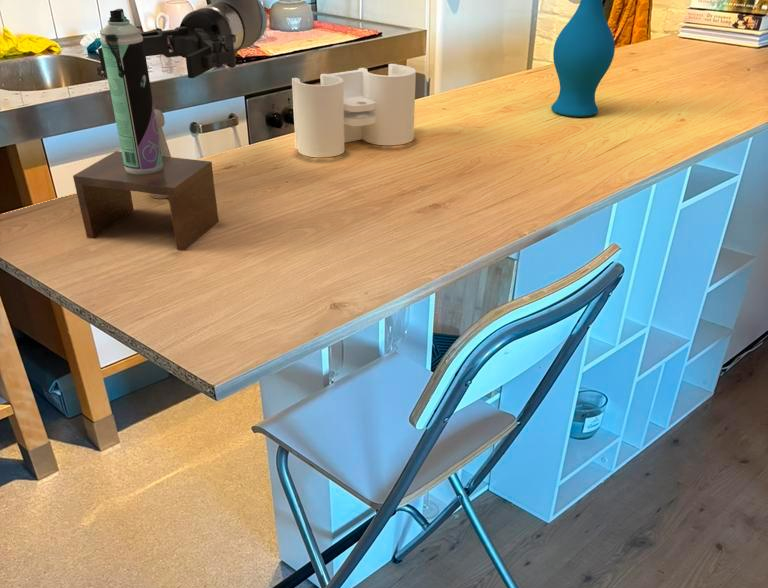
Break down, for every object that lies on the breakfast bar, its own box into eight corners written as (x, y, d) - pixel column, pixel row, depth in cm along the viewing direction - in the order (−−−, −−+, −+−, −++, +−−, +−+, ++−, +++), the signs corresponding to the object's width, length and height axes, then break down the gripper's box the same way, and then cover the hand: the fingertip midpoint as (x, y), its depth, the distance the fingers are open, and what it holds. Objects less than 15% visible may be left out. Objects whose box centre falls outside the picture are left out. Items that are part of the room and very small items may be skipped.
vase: (551, 102, 184) (571, -47, 165) (607, 108, 181) (634, -43, 162) (540, 116, 175) (560, -40, 157) (599, 122, 172) (626, -36, 154)
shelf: (86, 237, 122) (72, 175, 116) (127, 209, 130) (116, 150, 125) (184, 250, 118) (174, 187, 112) (218, 221, 127) (211, 161, 121)
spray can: (162, 173, 117) (136, 12, 104) (123, 175, 116) (92, 13, 103) (164, 161, 121) (139, 5, 108) (126, 162, 120) (97, 5, 107)
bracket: (314, 161, 150) (312, 89, 142) (289, 147, 156) (285, 77, 148) (423, 140, 161) (426, 72, 153) (395, 128, 167) (397, 62, 159)
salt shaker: (137, 195, 135) (121, 111, 127) (162, 185, 139) (149, 103, 130) (161, 203, 133) (147, 117, 124) (187, 193, 136) (175, 109, 128)
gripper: (285, 67, 129) (229, 100, 114) (144, 55, 134) (73, 85, 119) (282, 12, 124) (223, 39, 109) (136, 2, 130) (60, 26, 114)
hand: (144, 63), depth 114 cm, fingers open, 13 cm apart
